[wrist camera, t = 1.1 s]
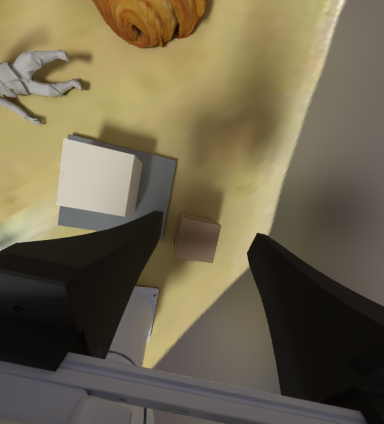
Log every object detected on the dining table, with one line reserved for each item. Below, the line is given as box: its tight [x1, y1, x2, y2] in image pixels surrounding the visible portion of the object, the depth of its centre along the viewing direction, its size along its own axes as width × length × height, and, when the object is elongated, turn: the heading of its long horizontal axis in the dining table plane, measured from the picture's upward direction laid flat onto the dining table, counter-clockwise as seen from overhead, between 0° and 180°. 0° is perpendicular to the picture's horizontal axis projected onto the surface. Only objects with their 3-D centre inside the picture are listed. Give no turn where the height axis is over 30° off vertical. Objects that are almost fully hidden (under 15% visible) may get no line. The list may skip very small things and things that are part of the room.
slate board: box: [58, 134, 176, 240], centre depth 19 cm, size 12×14×1 cm
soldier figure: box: [0, 50, 83, 125], centre depth 15 cm, size 8×5×12 cm
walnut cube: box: [174, 213, 221, 263], centre depth 19 cm, size 5×5×5 cm
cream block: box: [56, 138, 143, 217], centre depth 17 cm, size 7×7×4 cm
